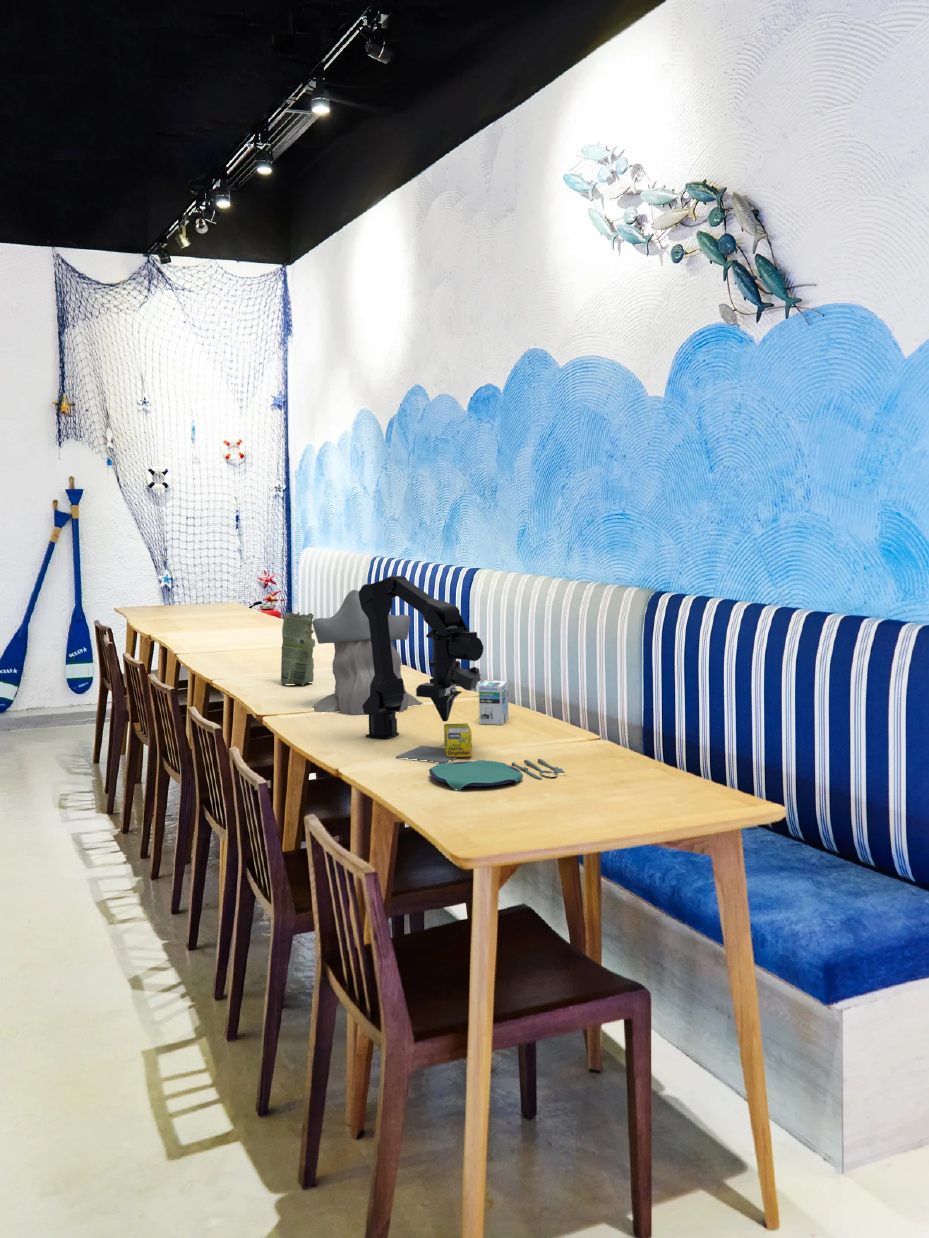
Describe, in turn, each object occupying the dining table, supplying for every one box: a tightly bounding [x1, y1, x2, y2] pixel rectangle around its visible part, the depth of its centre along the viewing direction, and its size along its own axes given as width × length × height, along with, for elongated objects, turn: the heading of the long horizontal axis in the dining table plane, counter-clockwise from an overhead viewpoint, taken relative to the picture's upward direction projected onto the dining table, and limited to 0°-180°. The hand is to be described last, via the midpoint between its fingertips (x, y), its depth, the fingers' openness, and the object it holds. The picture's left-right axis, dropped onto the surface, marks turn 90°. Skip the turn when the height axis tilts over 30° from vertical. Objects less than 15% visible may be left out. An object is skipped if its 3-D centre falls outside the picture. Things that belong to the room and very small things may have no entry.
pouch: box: [280, 611, 316, 685], centre depth 349 cm, size 11×12×25 cm
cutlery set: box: [428, 758, 566, 791], centre depth 224 cm, size 20×30×2 cm, turn 112°
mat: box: [395, 745, 457, 764], centre depth 244 cm, size 13×13×1 cm
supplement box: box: [443, 722, 473, 758], centre depth 245 cm, size 6×6×11 cm
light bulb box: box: [478, 679, 509, 726], centre depth 284 cm, size 11×7×11 cm, turn 168°
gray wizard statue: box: [311, 589, 424, 716], centre depth 308 cm, size 34×34×35 cm
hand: (445, 721), depth 249 cm, fingers closed
